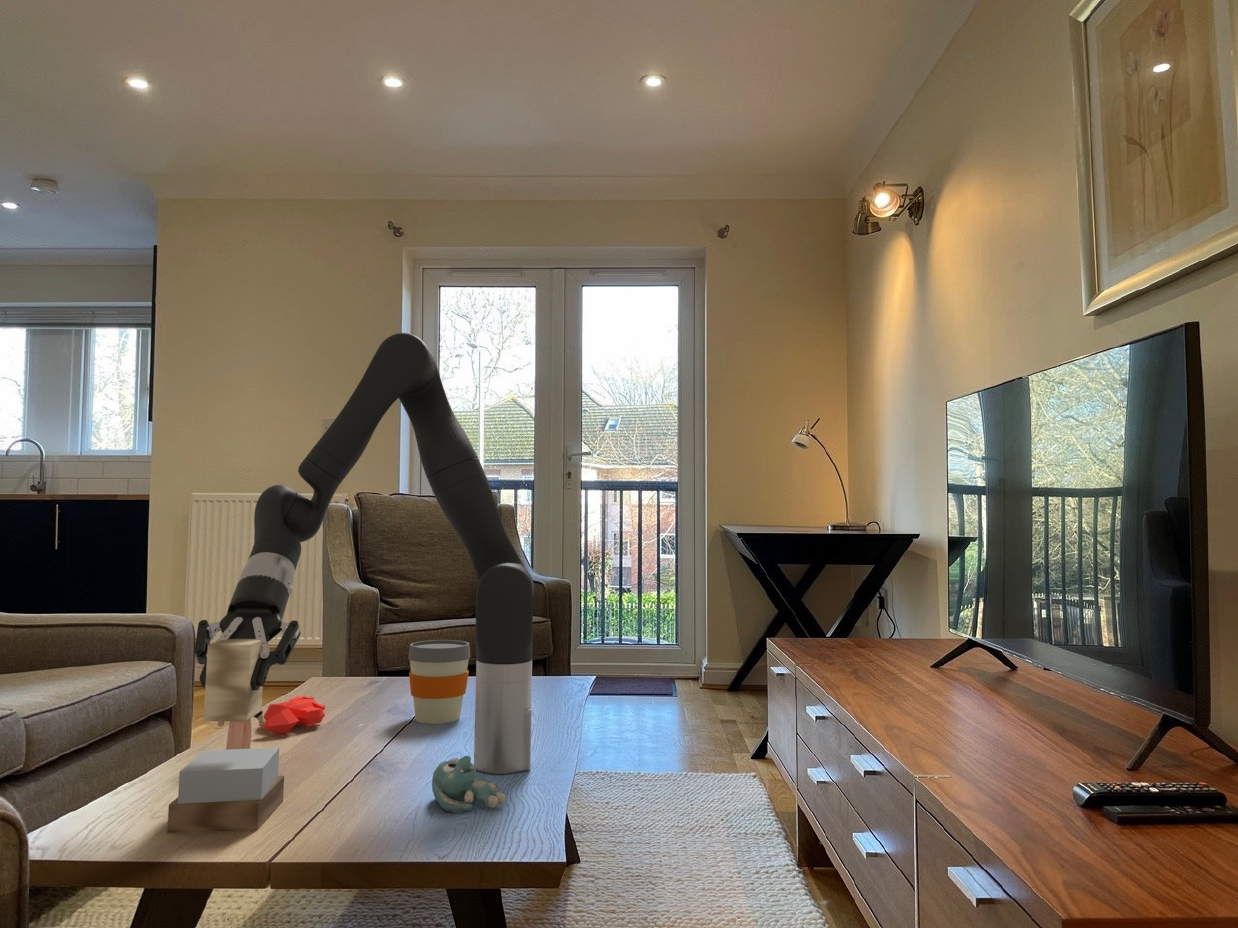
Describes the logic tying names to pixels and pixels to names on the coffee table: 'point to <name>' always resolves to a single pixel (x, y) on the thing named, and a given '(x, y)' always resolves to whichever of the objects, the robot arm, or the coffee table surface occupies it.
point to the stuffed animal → (463, 786)
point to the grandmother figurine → (241, 732)
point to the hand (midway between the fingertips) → (230, 686)
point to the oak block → (231, 680)
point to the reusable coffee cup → (438, 679)
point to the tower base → (225, 813)
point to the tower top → (228, 775)
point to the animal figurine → (293, 714)
